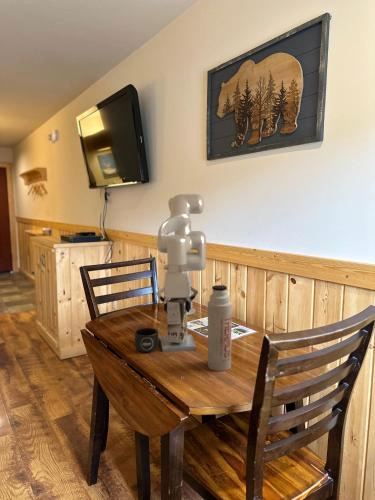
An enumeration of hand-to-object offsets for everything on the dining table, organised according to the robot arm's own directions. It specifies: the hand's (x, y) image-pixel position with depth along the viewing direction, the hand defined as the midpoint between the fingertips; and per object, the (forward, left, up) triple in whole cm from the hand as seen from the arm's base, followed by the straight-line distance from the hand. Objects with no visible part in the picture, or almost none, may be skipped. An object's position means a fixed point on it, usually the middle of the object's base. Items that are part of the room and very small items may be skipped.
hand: (177, 311), depth 136 cm
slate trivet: (0, 0, -13) cm, 13 cm away
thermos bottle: (+21, +12, -14) cm, 28 cm away
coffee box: (0, 0, -11) cm, 11 cm away
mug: (+1, -13, -14) cm, 19 cm away
